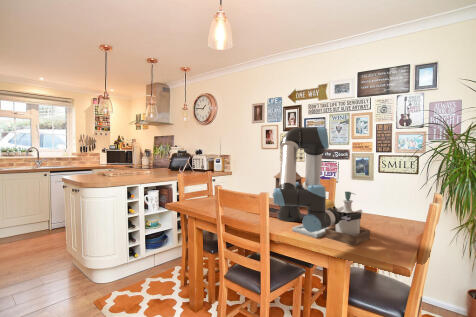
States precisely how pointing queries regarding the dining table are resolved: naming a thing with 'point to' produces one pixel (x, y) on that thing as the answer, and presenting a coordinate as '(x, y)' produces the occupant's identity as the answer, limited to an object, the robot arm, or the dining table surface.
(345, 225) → the soap bottle
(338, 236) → the walnut holder
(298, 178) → the pottery vessel
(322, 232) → the tray
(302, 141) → the robot arm
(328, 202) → the stress ball
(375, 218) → the dining table surface
